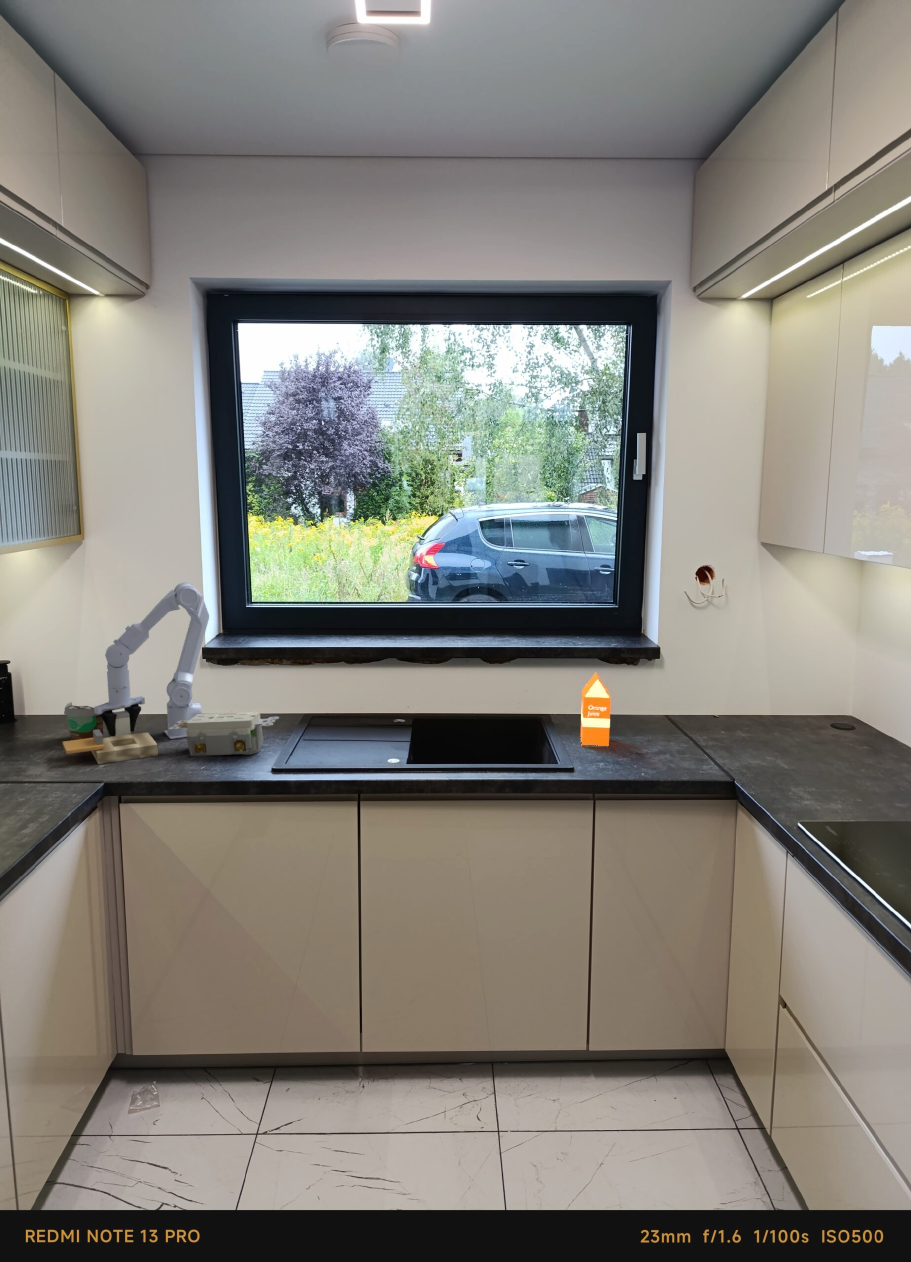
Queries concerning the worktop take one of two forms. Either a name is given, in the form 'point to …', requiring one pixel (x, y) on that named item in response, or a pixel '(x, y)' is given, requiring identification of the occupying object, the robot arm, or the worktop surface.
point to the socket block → (126, 748)
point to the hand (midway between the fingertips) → (121, 733)
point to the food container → (82, 721)
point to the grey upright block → (122, 723)
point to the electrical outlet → (224, 733)
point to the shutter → (85, 743)
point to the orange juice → (595, 713)
